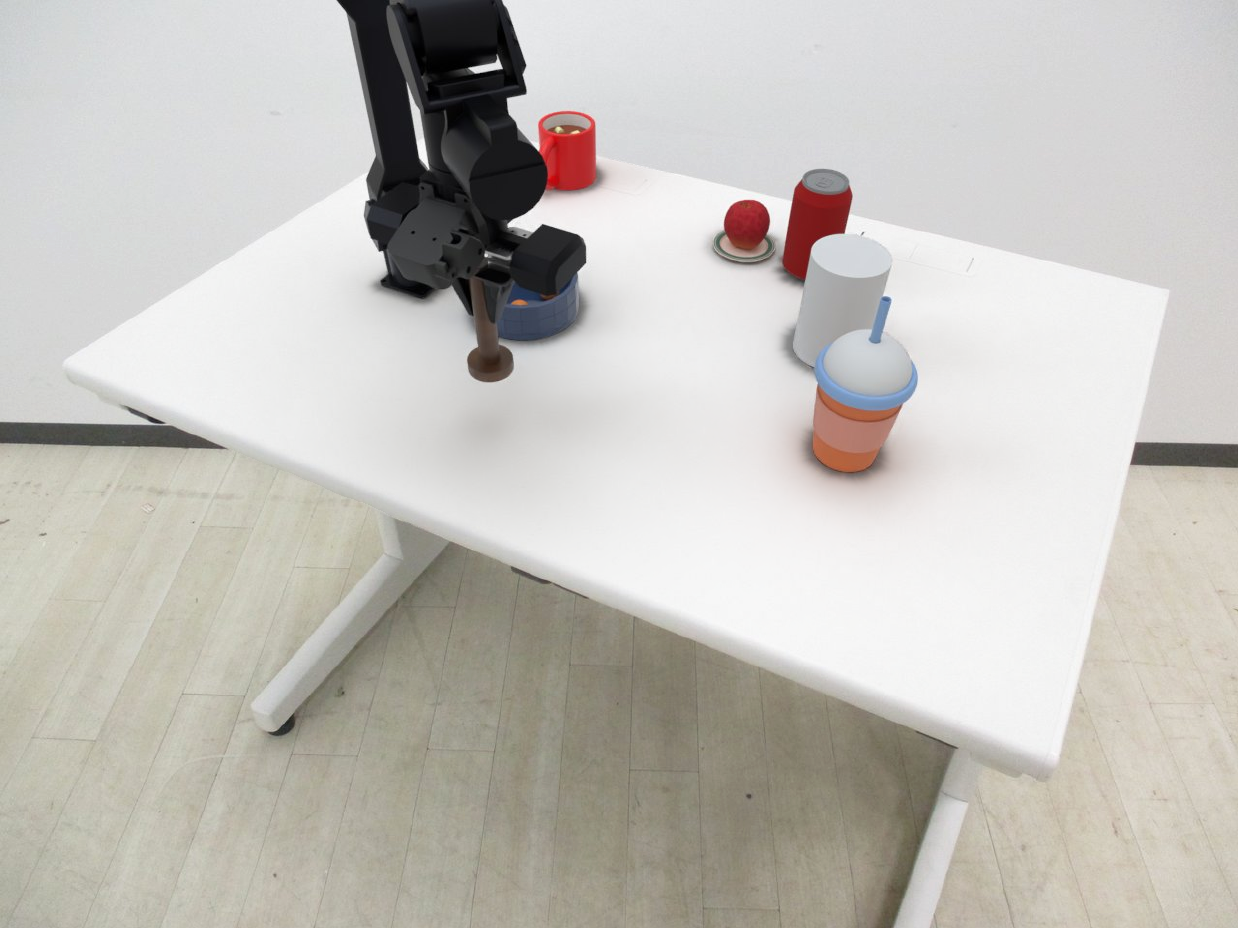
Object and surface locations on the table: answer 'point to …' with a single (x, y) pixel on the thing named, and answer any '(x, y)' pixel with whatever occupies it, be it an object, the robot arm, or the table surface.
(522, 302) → the bead
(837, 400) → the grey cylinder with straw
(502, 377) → the muddler
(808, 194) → the beverage can
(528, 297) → the bowl
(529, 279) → the robot arm
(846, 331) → the grey cylinder
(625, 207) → the table surface
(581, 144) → the mug
